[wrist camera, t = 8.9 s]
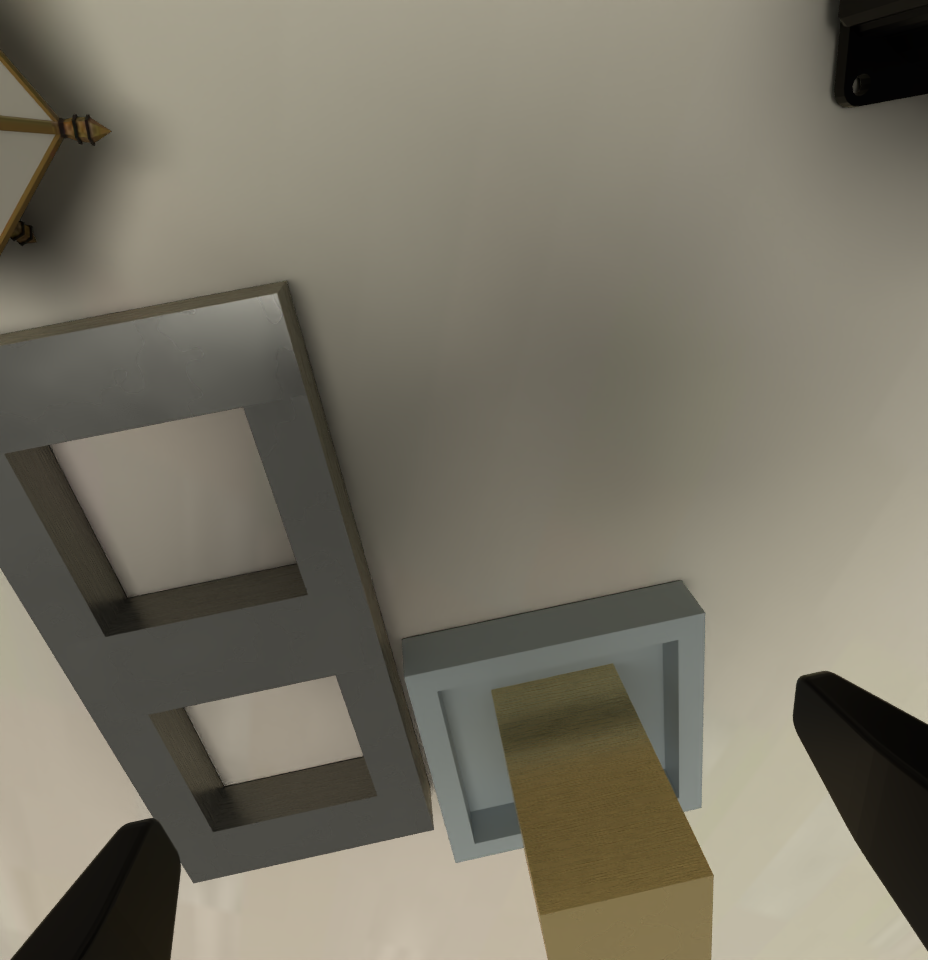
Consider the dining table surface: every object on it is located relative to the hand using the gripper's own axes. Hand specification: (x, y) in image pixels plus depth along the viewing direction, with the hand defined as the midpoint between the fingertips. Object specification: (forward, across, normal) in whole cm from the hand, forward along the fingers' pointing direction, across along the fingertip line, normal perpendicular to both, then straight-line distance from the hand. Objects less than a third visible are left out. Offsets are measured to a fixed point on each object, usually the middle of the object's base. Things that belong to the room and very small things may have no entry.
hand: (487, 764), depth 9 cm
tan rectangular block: (+12, -3, +14) cm, 19 cm away
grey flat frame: (+13, +8, +6) cm, 16 cm away
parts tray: (+13, -3, +14) cm, 19 cm away
